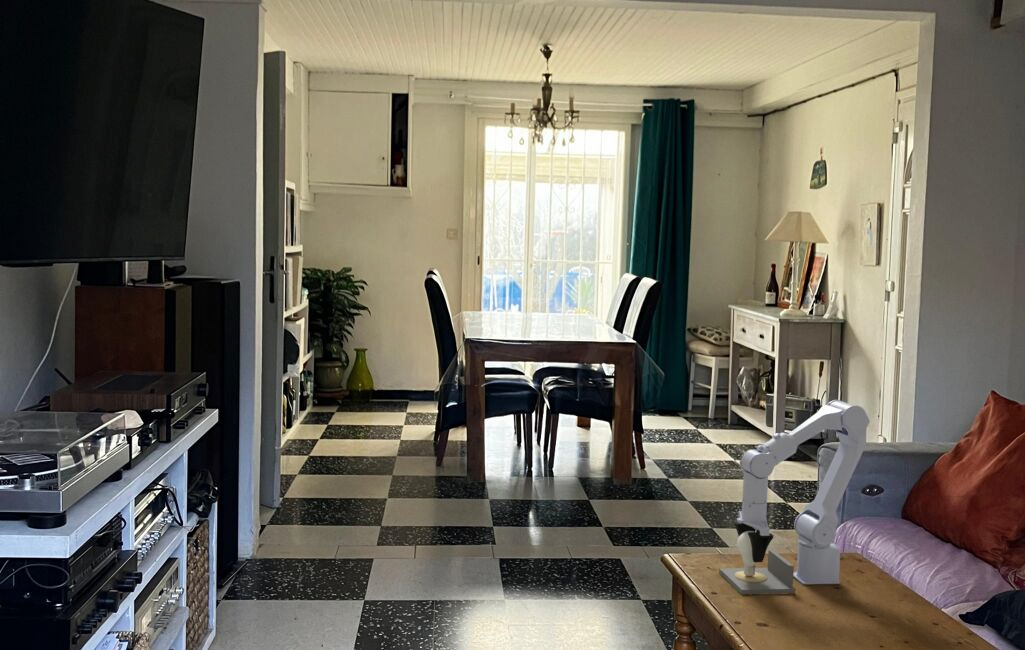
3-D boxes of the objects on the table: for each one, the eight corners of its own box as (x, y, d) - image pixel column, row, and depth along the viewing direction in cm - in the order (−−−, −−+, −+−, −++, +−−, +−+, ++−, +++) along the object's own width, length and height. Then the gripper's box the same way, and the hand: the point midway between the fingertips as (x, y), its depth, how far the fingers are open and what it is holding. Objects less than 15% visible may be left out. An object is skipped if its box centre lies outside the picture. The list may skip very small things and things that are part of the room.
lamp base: (770, 572, 243) (771, 547, 242) (795, 593, 228) (797, 567, 227) (719, 573, 241) (720, 548, 240) (741, 594, 226) (742, 568, 225)
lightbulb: (763, 582, 231) (765, 536, 230) (735, 579, 232) (738, 533, 231) (762, 573, 237) (764, 528, 236) (735, 571, 238) (737, 526, 238)
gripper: (727, 493, 240) (725, 547, 241) (750, 509, 226) (747, 566, 227) (755, 493, 241) (752, 547, 242) (779, 509, 227) (776, 566, 228)
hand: (751, 556), depth 235 cm, fingers open, 7 cm apart
